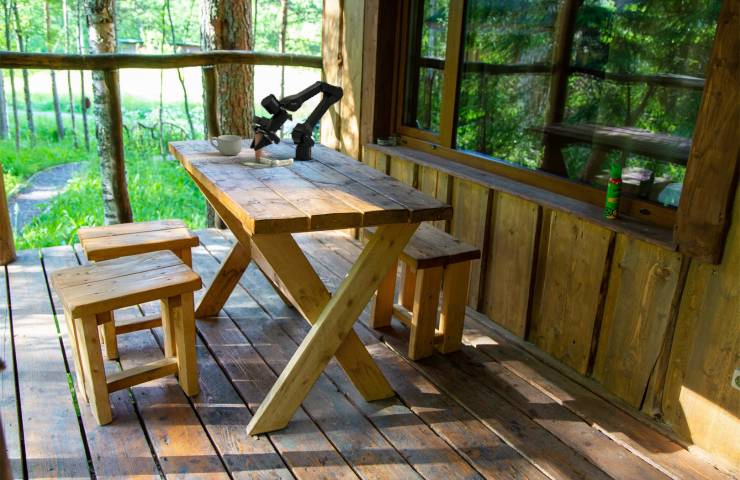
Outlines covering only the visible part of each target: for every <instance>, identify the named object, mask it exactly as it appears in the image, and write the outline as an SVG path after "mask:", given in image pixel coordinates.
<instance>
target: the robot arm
mask: <svg viewBox="0 0 740 480" xmlns="http://www.w3.org/2000/svg"><path fill="white" fill-rule="evenodd" d="M320 93H322V98H321V100H320V101H319V103H318V104H317V105H316V107H315V108H314V109H313V110H312V112H311V113H310V114H309V115H308V117H307V118H306V119H305V121H304V122H302V123H300V122H296V124H295V126H294V127H292V128H291V130H292V131H291V133H290V135H291V139H292V142H293V144H294V146H295V149H294V150H295V153H294V154H295V156H294V157H293V160H297V161H302V162H303V161H313V160H314V158H313V157H312V148H315V147H314V146H315V143H316V141H315V140H314V139H313V138H312V136H313V132H314V131H313V130H314V128H315V127H316V126H317V125H318V123H319V122H320V120H321V119H322V118H323V117H324V115H325V114H326V113H327V111H329V109H330V108H331V106H333V105H335V104H337V103H338V102H340V101H341V100H342V98H343V97H344V89H343V87H341V86H338V85H333V84H330V83H328V82H326V81H325V80H324V81H323V80H316V81H315V82H314V83H312V84H311V85H309V86H308V87H306V88H304V89H303V90H301V91H299V92H297V93H295V94H291V95H287V96H284V97H282V99H281V100H279V99H278V98H277V97H276V95H275V94H273V93H270V94H269V95H267V96H265V97H264V98H262V100H261V102H260V106H261V107H262V108H263V109H264V111H266V112H267V113H268V114H269V115H271V116H270V117H269V118H268V117H266V116H263V115H262V116H261V117H260V116H259V115H255V114H254V115H253V118H252V119H251V120H252V121H251V123H253V124H252V126H251V127H250V129H251V130H252V132H253V133H254V134H253V135H254V136H253V138H252V141H251V143H250V146H249V149H251V150H253V151H257V150H259V149H261V148H262V149H263V148H266V147H267V146H270V145H273V144H274V145H279V143H280V142H281V138H280V136H278V134H276V133H278V131H281V130H282V126H283V125H284V124H285V123H286V122H287V121H290V122H293V114H291V113H295V112H297V111H298V110H299V109H301V107H302V106H303V105H304V103H305V102H307V101H308V100H311V99H312V98H314V97H316V96H317V95H318V94H320ZM289 112H291V113H289ZM255 134H261V138H260V140H259V142H258V143H257V144H256V146H255Z"/></svg>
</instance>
